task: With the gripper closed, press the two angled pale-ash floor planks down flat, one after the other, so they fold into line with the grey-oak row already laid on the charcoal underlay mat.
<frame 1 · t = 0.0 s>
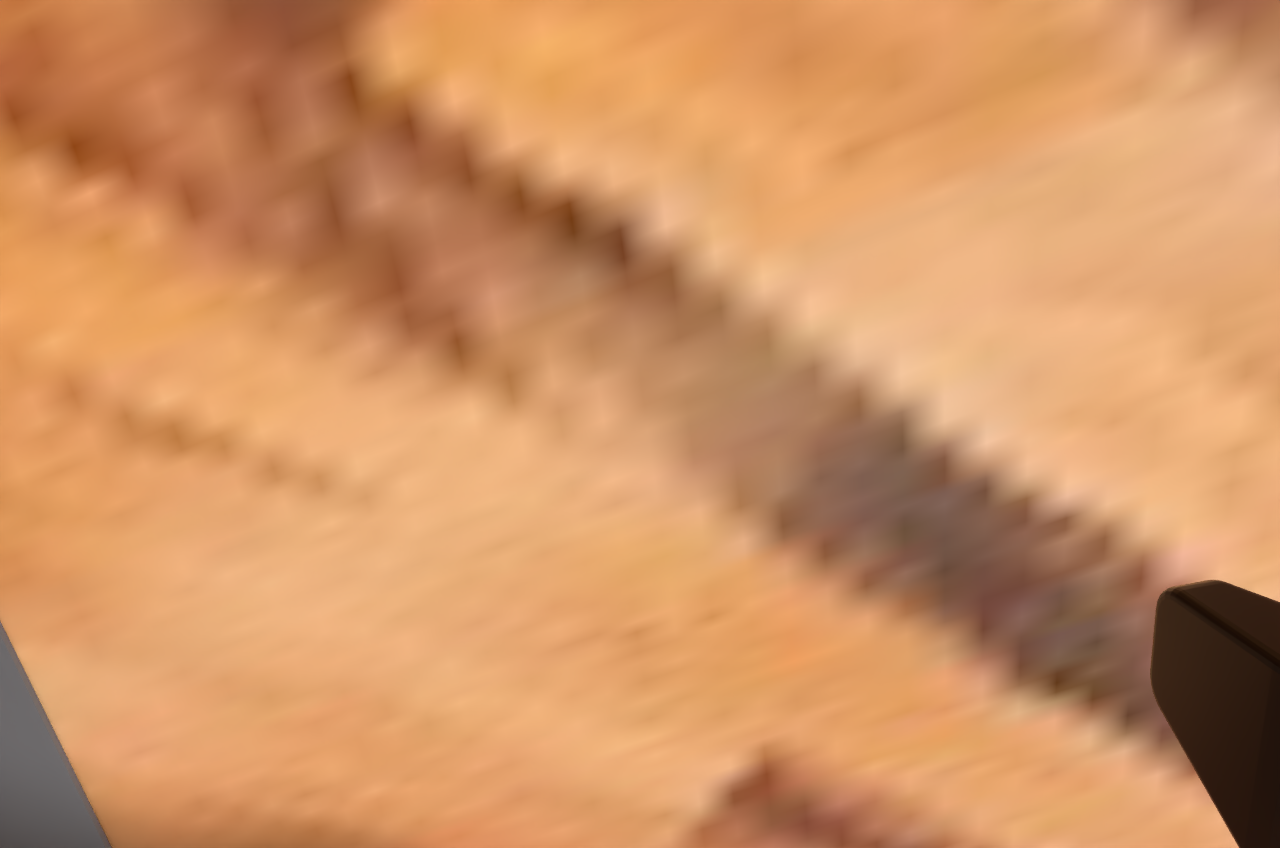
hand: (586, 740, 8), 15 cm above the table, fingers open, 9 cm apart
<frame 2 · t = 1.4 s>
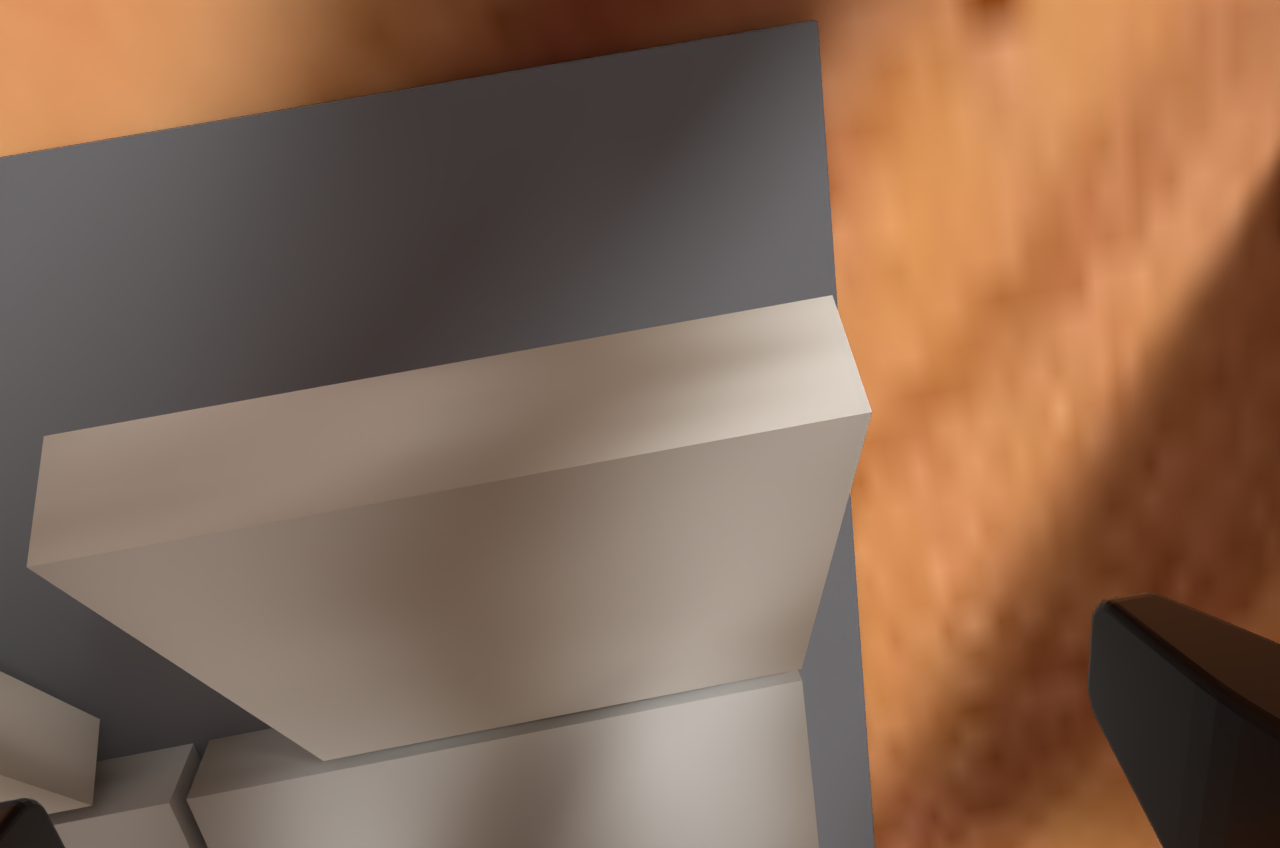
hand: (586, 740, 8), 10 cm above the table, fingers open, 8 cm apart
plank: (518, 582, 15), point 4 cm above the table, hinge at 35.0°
underlay mat: (237, 725, 20), on the table
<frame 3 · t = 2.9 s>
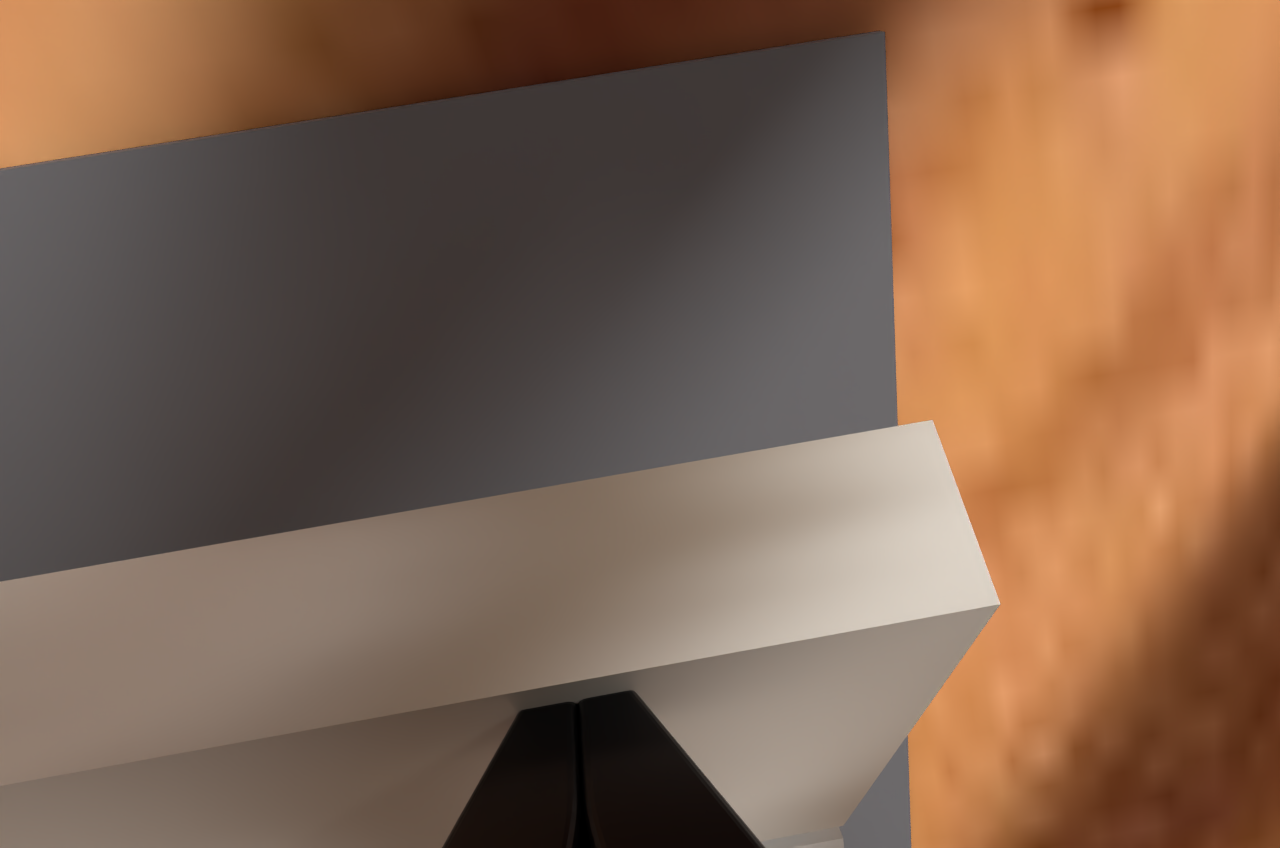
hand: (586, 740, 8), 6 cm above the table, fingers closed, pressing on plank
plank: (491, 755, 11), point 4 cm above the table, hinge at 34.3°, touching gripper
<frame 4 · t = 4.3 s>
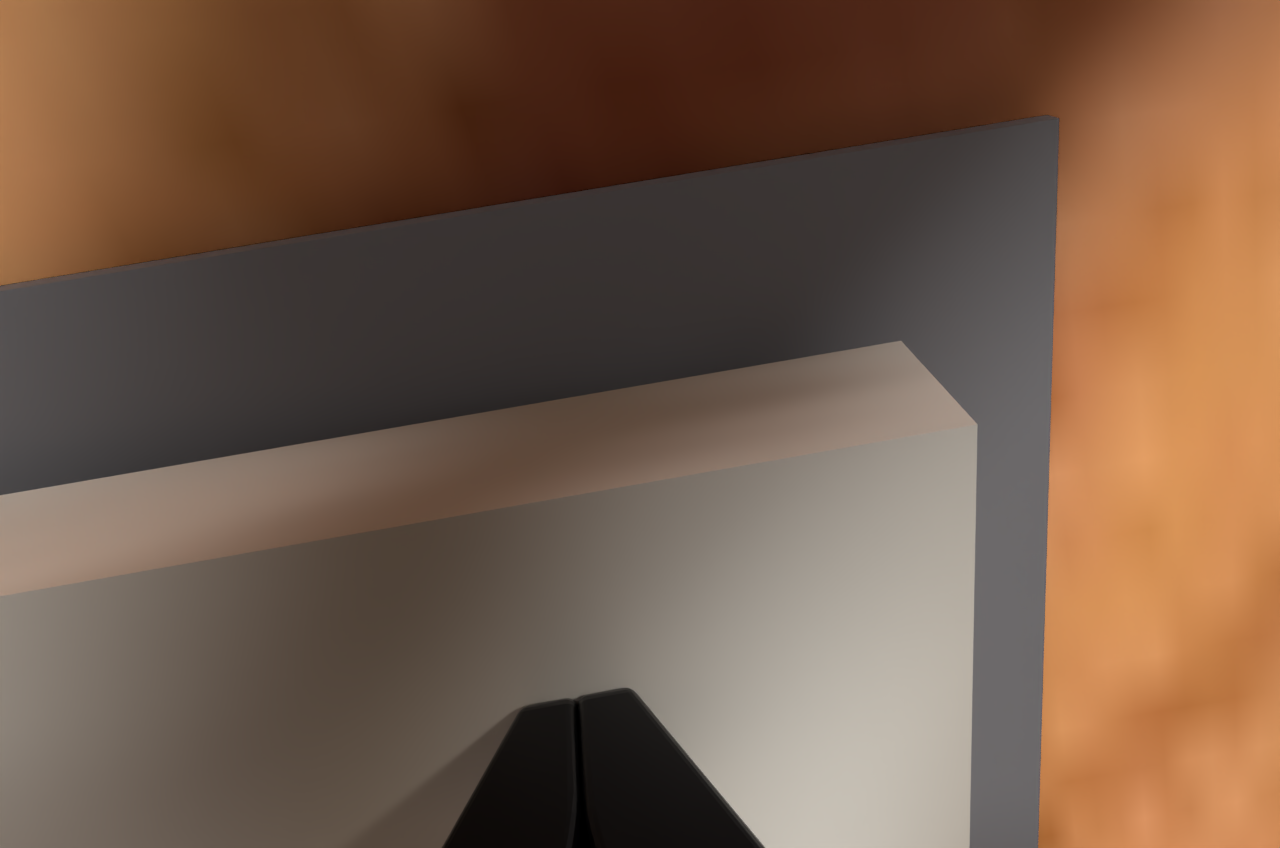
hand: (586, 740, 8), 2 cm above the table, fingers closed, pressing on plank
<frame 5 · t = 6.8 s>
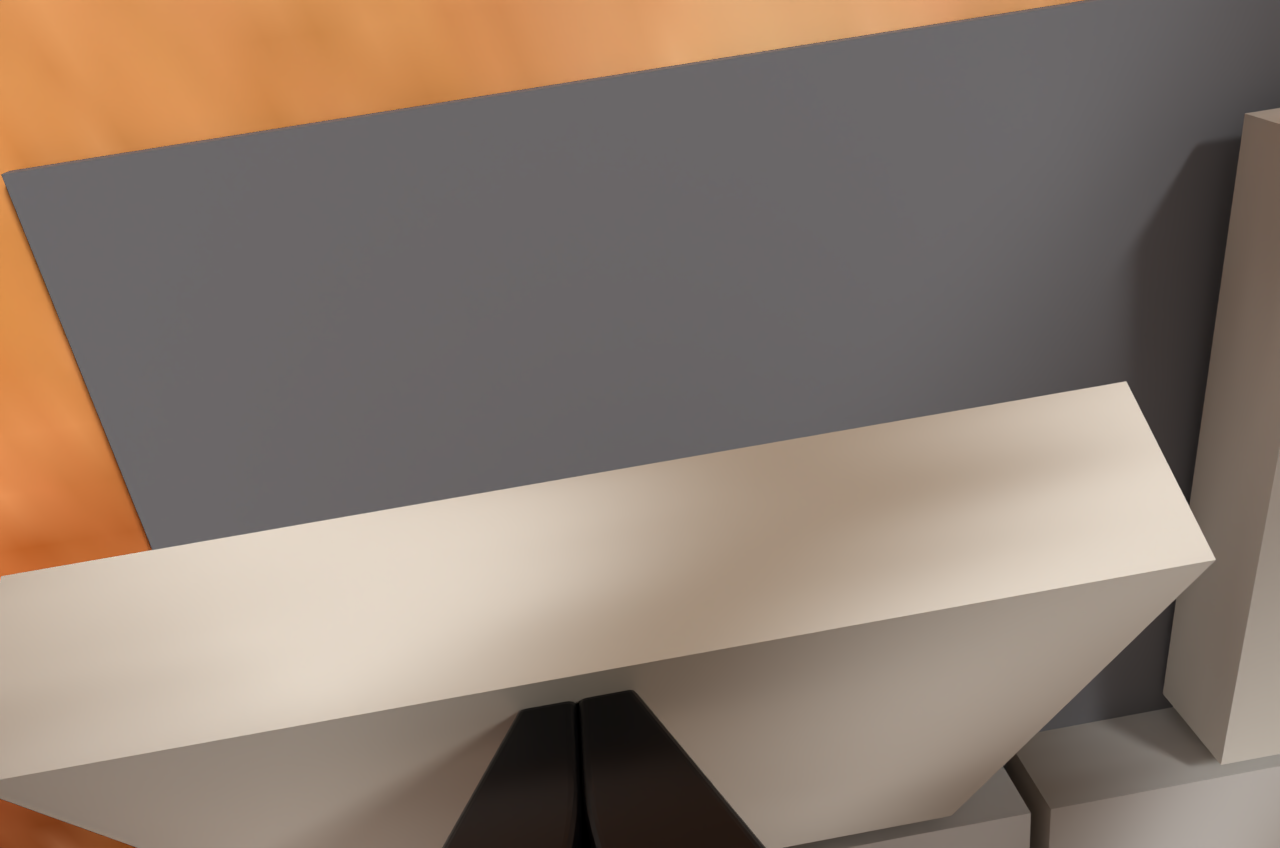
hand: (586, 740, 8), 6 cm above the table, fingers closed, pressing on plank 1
plank 1: (630, 734, 11), point 4 cm above the table, hinge at 33.3°, touching gripper
underlay mat: (1031, 721, 17), on the table
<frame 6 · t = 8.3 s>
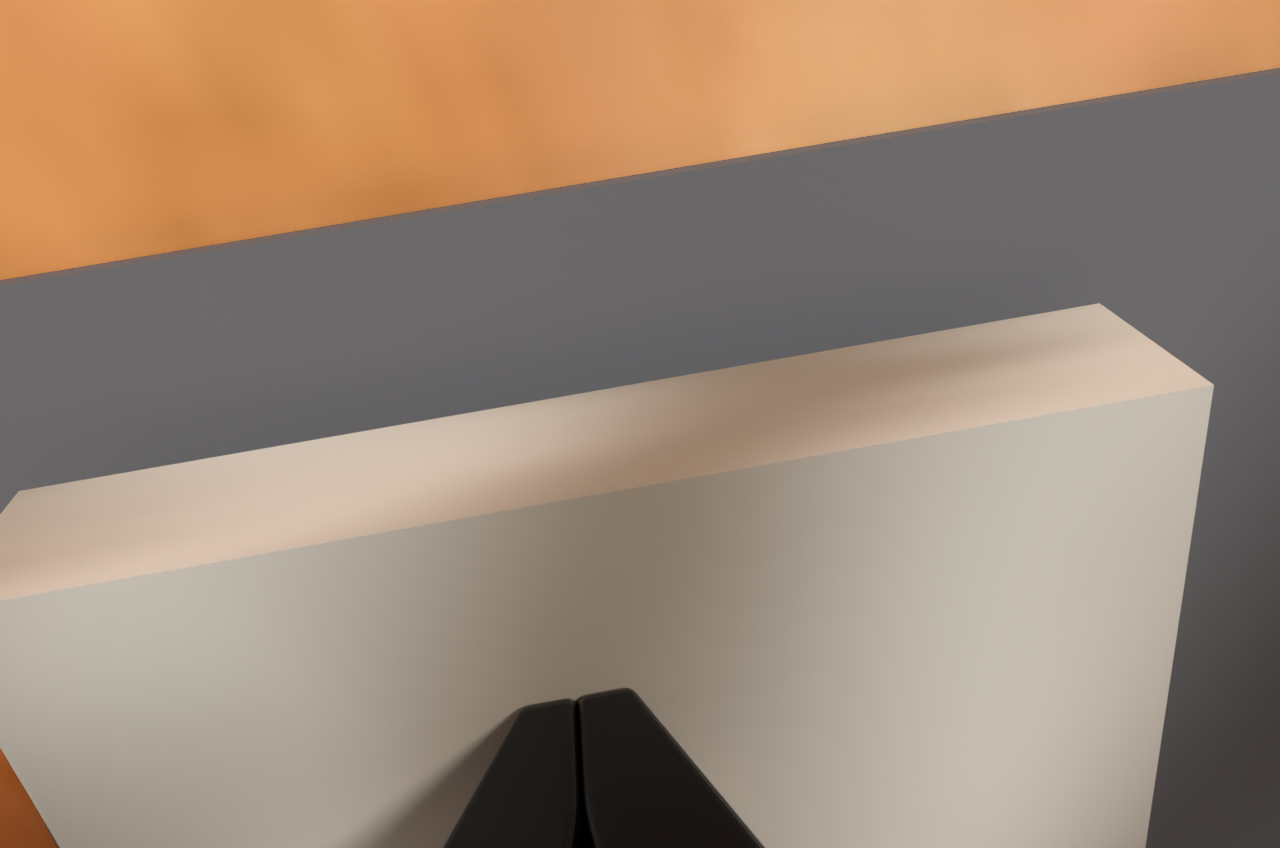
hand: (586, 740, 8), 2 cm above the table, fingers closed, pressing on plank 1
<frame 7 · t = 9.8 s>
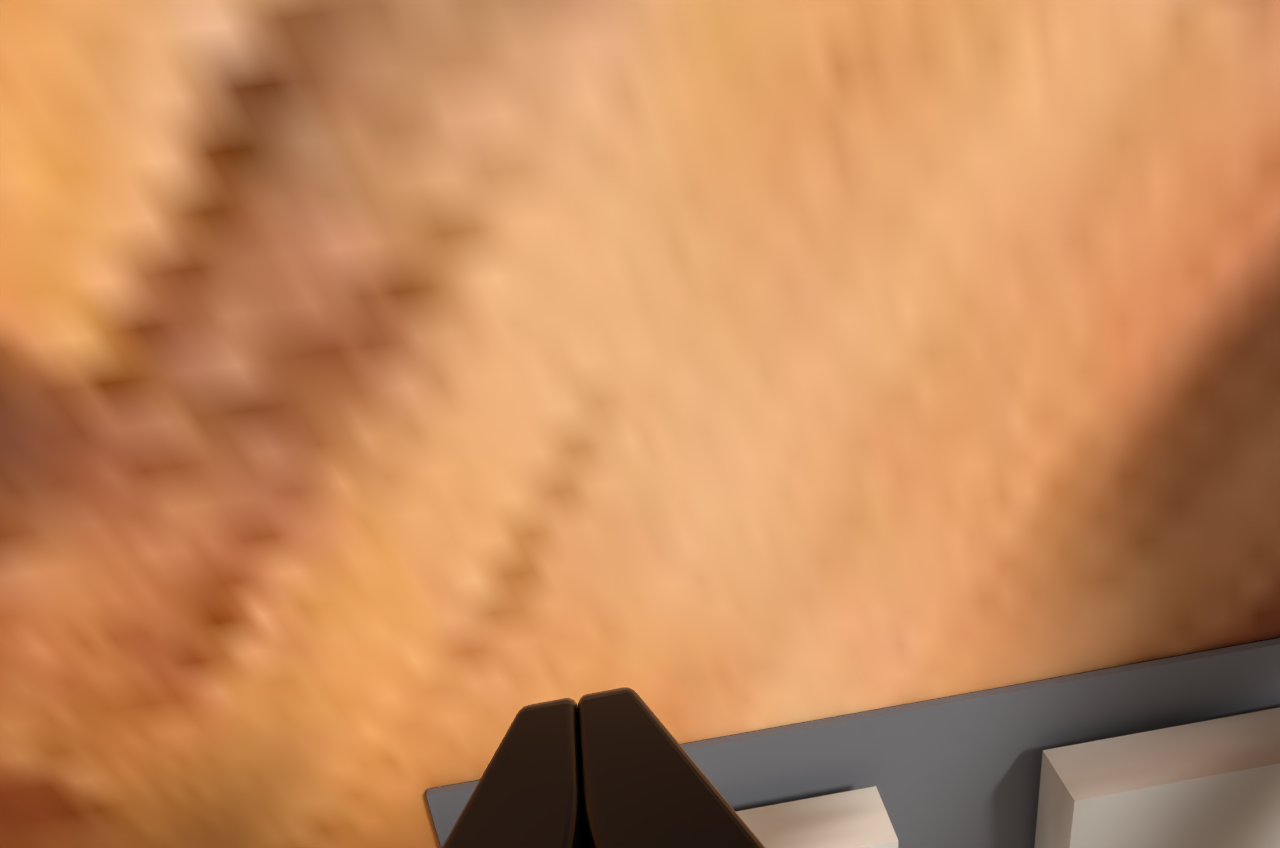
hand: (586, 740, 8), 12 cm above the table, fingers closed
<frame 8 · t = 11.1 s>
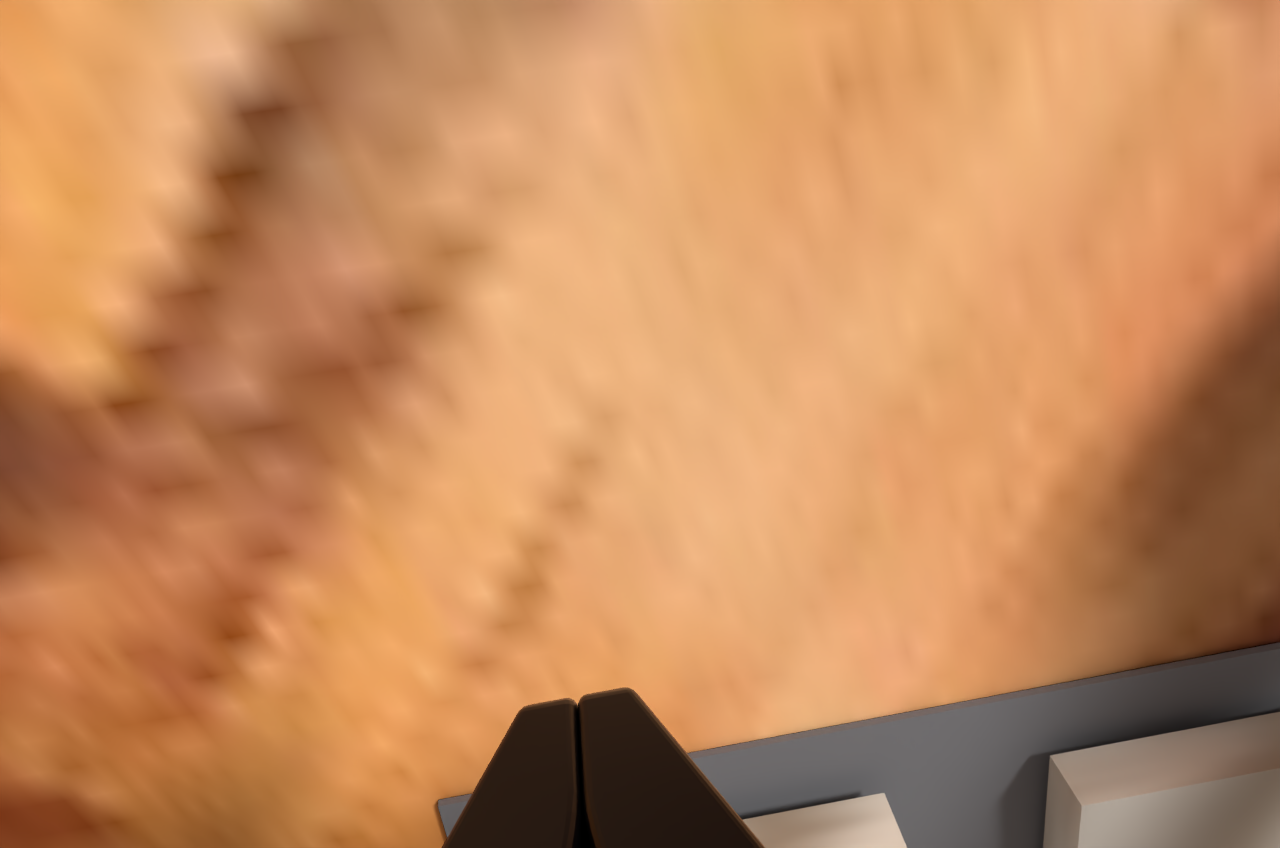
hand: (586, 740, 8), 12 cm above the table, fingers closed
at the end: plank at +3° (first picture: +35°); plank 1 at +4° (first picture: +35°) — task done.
